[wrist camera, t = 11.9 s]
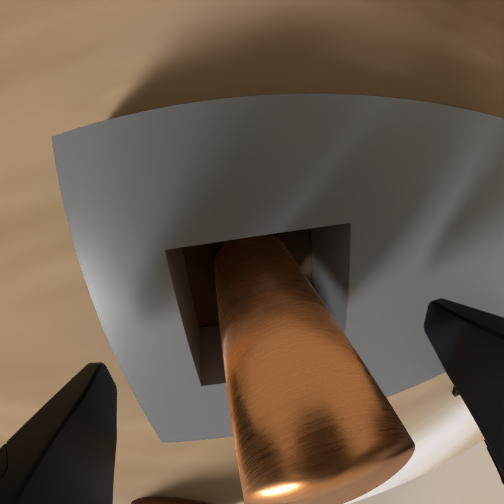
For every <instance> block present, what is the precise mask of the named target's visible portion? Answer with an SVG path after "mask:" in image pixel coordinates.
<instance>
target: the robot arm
mask: <svg viewBox="0 0 504 504" xmlns="http://www.w3.org/2000/svg"><path fill="white" fill-rule="evenodd" d="M424 331H425V333H426V335H427V337H428V339H429V341H430V342H431V344H432V346H433V348H434V350H435V352H436V354H437V356H438V358H439V360H440V362H441V364H442V366H443V368H444V369H445V371H446V373H447V375H448V376H449V378H450V379H451V381H452V383H453V384H454V386H455V387H454V389H453V391H452V394H453V395H454V396H455V397H456V396H458V395H459V394H460V396H461V397H462V399H463V401H464V403H465V404H466V406H467V408H468V409H469V411H470V413H471V415H472V416H473V418H474V420H475V422H476V424H477V425H478V427H479V429H480V431H481V433H482V435H483V436H484V438H485V440H484V441H485V443H486V445H487V449H488V452H489V454H490V456H491V458H492V460H493V462H494V464H495V466H496V468H497V470H498V472H499V475H500V477H501V481H502V483H503V484H504V317H501V316H498V315H495V314H491V313H488V312H485V311H482V310H479V309H475V308H472V307H469V306H466V305H463V304H459V303H456V302H453V301H450V300H446V299H443V298H439V299H436V300H433V301H431V302H430V303H429V304H428V308H427V312H426V317H425V321H424ZM116 441H117V388H116V385H115V383H114V381H113V379H112V377H111V375H110V373H109V371H108V369H107V367H106V366H105V364H104V363H101V362H97V363H89V364H87V365H86V366H85V367H84V368H83V369H82V370H81V371H80V372H79V373H78V374H77V375H75V376H74V377H73V378H72V379H71V380H70V381H69V382H68V383H67V384H66V385H65V386H64V387H63V388H62V389H61V390H60V391H59V392H57V393H56V394H55V395H54V396H53V397H52V398H51V399H50V400H49V401H48V402H47V403H46V404H45V405H44V406H43V407H42V408H41V409H40V410H39V411H38V412H37V413H36V414H35V415H34V416H33V417H31V418H30V419H29V420H28V421H27V422H26V423H25V424H24V425H23V426H22V427H21V428H20V429H19V430H18V431H17V432H16V433H15V434H14V435H13V436H12V437H11V438H10V439H9V440H8V441H7V444H4V445H3V446H2V447H1V448H0V504H113V482H114V466H115V454H116Z"/></svg>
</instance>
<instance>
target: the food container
mask: <svg viewBox="0 0 504 504" xmlns="http://www.w3.org/2000/svg"><path fill="white" fill-rule="evenodd" d="M131 504H207V503H204V502H199V501H194V500H187V499H179V498H165V497H149V498H141V499H137V500H134V501H132V503H131Z"/></svg>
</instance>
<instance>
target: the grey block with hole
mask: <svg viewBox="0 0 504 504" xmlns="http://www.w3.org/2000/svg"><path fill="white" fill-rule="evenodd" d="M52 143H53V150H54V156H55V163H56V169H57V174H58V180H59V185H60V190H61V195H62V199H63V204H64V208H65V212H66V216H67V220H68V224H69V228H70V232H71V236H72V239H73V243H74V246H75V250H76V253H77V257H78V260H79V263H80V266H81V269H82V272H83V276H84V279H85V281H86V284H87V287H88V290H89V293H90V296H91V298H92V301H93V304H94V306H95V309H96V312H97V314H98V317H99V319H100V322H101V324H102V327H103V329H104V332H105V334H106V336H107V339H108V341H109V343H110V345H111V348H112V350H113V352H114V354H115V356H116V359H117V361H118V363H119V365H120V367H121V369H122V371H123V373H124V375H125V377H126V379H127V381H128V383H129V385H130V387H131V389H132V391H133V393H134V395H135V397H136V399H137V400H138V402H139V404H140V406H141V408H142V409H143V411H144V413H145V415H146V416H147V418H148V420H149V422H150V423H151V425H152V427H153V428H154V430H155V432H156V433H157V435H158V437H159V438H160V440H161V441H162V443H163V442H182V441H195V440H205V439H215V438H223V437H230V436H233V429H232V422H231V415H230V408H229V400H228V393H227V385H226V377H225V369H224V360H223V352H222V343H221V334H220V325H213V326H206V327H200V326H199V322H198V318H197V314H196V310H195V305H194V301H193V296H192V292H191V287H190V283H189V278H188V273H187V268H186V264H185V259H184V254H183V249H182V247H188V246H194V245H201V244H207V243H214V242H220V241H227V240H234V239H240V238H247V237H254V236H261V235H268V234H275V233H282V232H289V231H296V230H303V229H310V228H311V245H312V286H313V287H314V289H315V290H316V292H317V293H318V295H319V296H320V298H321V299H322V301H323V302H324V303H325V305H326V306H327V308H328V309H329V311H330V312H331V314H332V315H333V317H334V318H335V320H336V321H337V323H338V324H339V326H340V327H341V329H342V330H343V332H344V333H345V335H346V336H347V338H348V339H349V341H350V342H351V344H352V345H353V347H354V349H355V350H356V352H357V353H358V355H359V356H360V358H361V359H362V361H363V362H364V364H365V365H366V367H367V369H368V370H369V372H370V373H371V375H372V376H373V378H374V379H375V381H376V383H377V384H378V386H379V387H380V389H381V390H382V392H383V394H384V395H385V397H388V396H391V395H393V394H396V393H399V392H401V391H404V390H406V389H408V388H411V387H413V386H416V385H418V384H420V383H423V382H425V381H427V380H429V379H431V378H434V377H436V376H438V375H440V374H442V373H444V372H446V371H445V369H444V368H443V366H442V364H441V362H440V360H439V358H438V356H437V354H436V352H435V350H434V348H433V346H432V344H431V342H430V341H429V339H428V337H427V335H426V333H425V331H424V321H425V317H426V312H427V308H428V304H429V303H430V302H431V301H433V300H436V299H439V298H443V299H446V300H450V301H453V302H456V303H459V304H463V305H466V306H469V307H472V308H475V309H479V310H482V311H485V312H488V313H491V314H495V315H498V316H501V317H504V118H501V117H497V116H493V115H489V114H485V113H481V112H477V111H473V110H468V109H463V108H459V107H454V106H448V105H443V104H437V103H431V102H424V101H417V100H410V99H401V98H392V97H382V96H369V95H353V94H273V95H257V96H244V97H233V98H223V99H215V100H207V101H199V102H192V103H186V104H180V105H174V106H168V107H162V108H157V109H152V110H147V111H142V112H138V113H133V114H129V115H125V116H121V117H117V118H113V119H109V120H105V121H101V122H98V123H94V124H90V125H87V126H84V127H80V128H77V129H74V130H71V131H68V132H64V133H61V134H59V135H56V136H53V137H52Z"/></svg>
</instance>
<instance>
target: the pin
mask: <svg viewBox="0 0 504 504" xmlns="http://www.w3.org/2000/svg"><path fill="white" fill-rule="evenodd" d="M214 274H215V285H216V295H217V305H218V315H219V325H220V334H221V343H222V352H223V360H224V369H225V377H226V385H227V393H228V400H229V408H230V415H231V422H232V429H233V436H234V443H235V449H236V456H237V462H238V469H239V475H240V481H241V487H242V493H243V498H244V504H343V503H346V502H348V501H351V500H353V499H355V498H357V497H359V496H362V495H364V494H365V493H367V492H369V491H371V490H373V489H374V488H376V487H378V486H379V485H381V484H382V483H384V482H385V481H387V480H388V479H390V478H391V477H392V476H393V475H395V474H396V473H397V472H398V471H399V470H400V469H401V468H402V467H403V466H404V465H405V464H406V463H407V462H408V461H409V459H410V458H411V456H412V454H413V452H414V450H415V444H414V442H413V440H412V439H411V437H410V435H409V434H408V432H407V430H406V429H405V427H404V426H403V424H402V422H401V421H400V419H399V417H398V416H397V414H396V413H395V411H394V409H393V408H392V406H391V405H390V403H389V401H388V400H387V398H386V397H385V395H384V394H383V392H382V390H381V389H380V387H379V386H378V384H377V383H376V381H375V379H374V378H373V376H372V375H371V373H370V372H369V370H368V369H367V367H366V365H365V364H364V362H363V361H362V359H361V358H360V356H359V355H358V353H357V352H356V350H355V349H354V347H353V345H352V344H351V342H350V341H349V339H348V338H347V336H346V335H345V333H344V332H343V330H342V329H341V327H340V326H339V324H338V323H337V321H336V320H335V318H334V317H333V315H332V314H331V312H330V311H329V309H328V308H327V306H326V305H325V303H324V302H323V301H322V299H321V298H320V296H319V295H318V293H317V292H316V290H315V289H314V287H313V286H312V284H311V283H310V281H309V280H308V279H307V277H306V276H305V274H304V273H303V271H302V270H301V268H300V267H299V266H298V264H297V263H296V261H295V260H294V258H293V257H292V255H291V254H290V253H289V251H288V250H287V248H286V247H285V245H284V244H283V243H282V242H281V240H279V239H278V238H277V237H276V236H274V235H273V234H268V235H261V236H254V237H247V238H240V239H234V240H227V241H225V242H224V243H223V244H222V246H221V247H220V248H219V250H218V252H217V254H216V257H215V261H214Z"/></svg>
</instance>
